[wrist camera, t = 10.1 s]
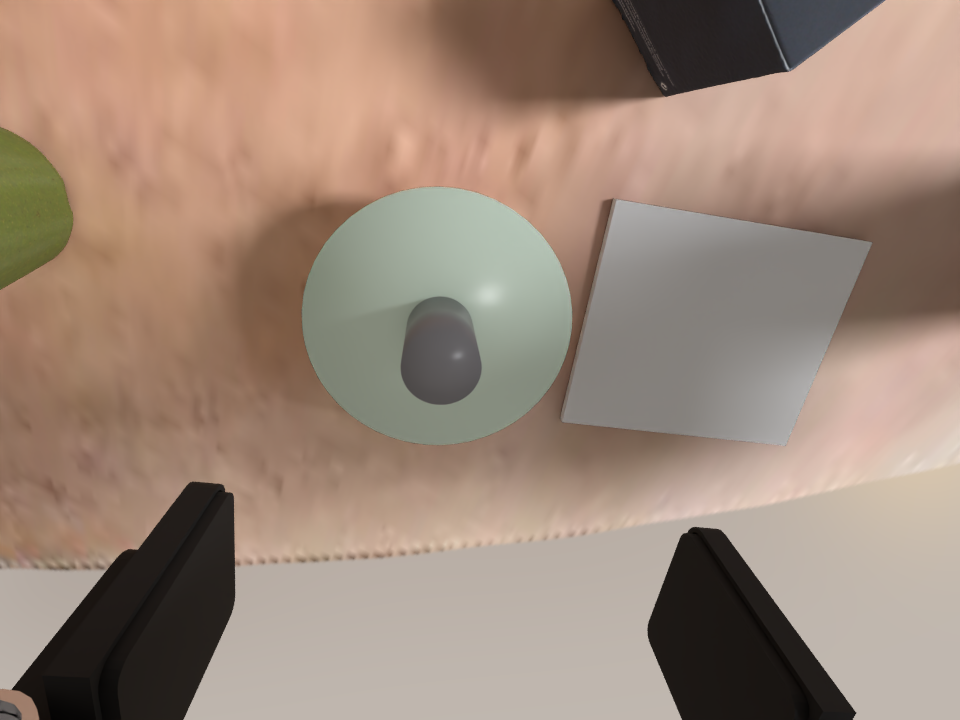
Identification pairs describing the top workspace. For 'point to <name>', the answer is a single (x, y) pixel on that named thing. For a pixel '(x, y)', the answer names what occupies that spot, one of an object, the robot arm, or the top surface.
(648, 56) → the small box
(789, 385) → the mat
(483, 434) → the lid
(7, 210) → the plant pot
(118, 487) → the top surface
